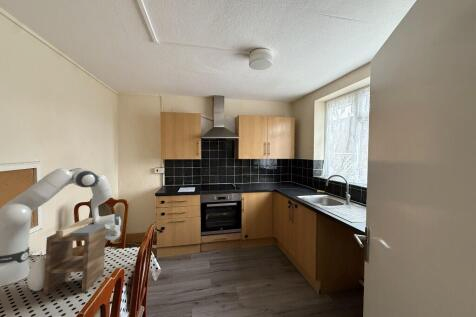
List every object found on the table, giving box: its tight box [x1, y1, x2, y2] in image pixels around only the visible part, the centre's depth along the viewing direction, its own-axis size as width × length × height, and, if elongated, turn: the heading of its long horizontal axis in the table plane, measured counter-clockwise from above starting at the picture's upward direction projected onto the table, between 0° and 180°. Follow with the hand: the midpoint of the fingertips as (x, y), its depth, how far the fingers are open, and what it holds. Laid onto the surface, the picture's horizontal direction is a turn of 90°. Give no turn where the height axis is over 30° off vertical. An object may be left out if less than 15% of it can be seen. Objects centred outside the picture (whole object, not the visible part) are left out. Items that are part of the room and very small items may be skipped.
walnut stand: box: [42, 227, 106, 296], centre depth 94 cm, size 18×14×26 cm
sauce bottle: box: [26, 251, 46, 292], centre depth 89 cm, size 8×8×18 cm
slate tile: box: [70, 223, 104, 236], centre depth 95 cm, size 8×13×2 cm, turn 8°
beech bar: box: [55, 217, 93, 236], centre depth 99 cm, size 3×22×2 cm, turn 8°
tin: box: [72, 244, 84, 256], centre depth 116 cm, size 15×3×8 cm, turn 139°
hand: (95, 226), depth 116 cm, fingers open, 8 cm apart
